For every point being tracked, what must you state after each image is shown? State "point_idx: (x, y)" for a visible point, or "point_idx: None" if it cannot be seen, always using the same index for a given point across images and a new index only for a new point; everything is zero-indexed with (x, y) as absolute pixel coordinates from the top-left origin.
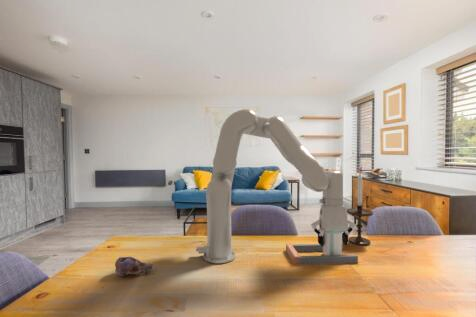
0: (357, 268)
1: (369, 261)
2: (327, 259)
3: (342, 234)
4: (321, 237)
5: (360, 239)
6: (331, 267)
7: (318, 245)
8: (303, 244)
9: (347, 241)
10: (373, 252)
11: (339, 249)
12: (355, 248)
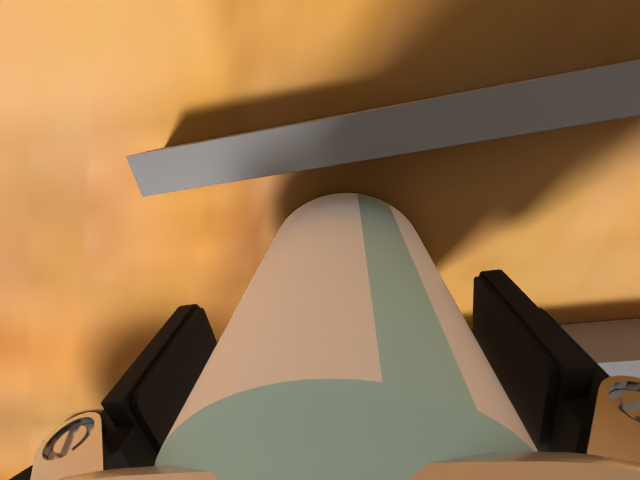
0: (183, 18)
1: (73, 185)
2: (457, 94)
3: None
4: (573, 358)
5: None
6: (434, 4)
7: None
8: None
9: (158, 333)
10: (43, 331)
11: (289, 234)
12: None
